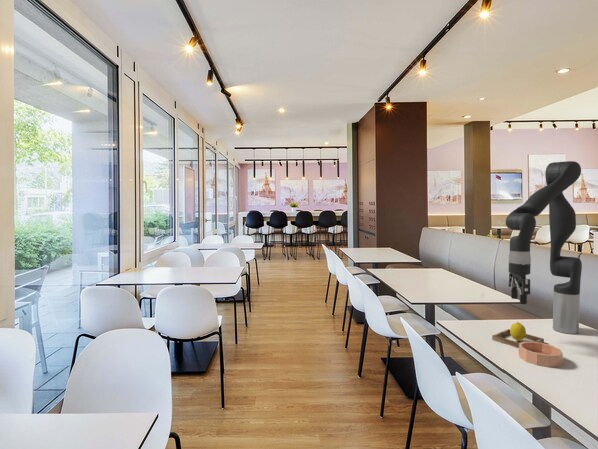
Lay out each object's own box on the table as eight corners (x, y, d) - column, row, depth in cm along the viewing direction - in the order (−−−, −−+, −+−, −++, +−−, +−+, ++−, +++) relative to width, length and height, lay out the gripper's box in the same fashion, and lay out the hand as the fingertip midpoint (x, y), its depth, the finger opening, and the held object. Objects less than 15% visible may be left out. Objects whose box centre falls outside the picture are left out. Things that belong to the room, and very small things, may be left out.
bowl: (528, 349, 133) (528, 339, 133) (567, 361, 122) (567, 350, 122) (512, 357, 126) (512, 346, 126) (552, 370, 115) (552, 358, 115)
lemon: (528, 344, 138) (528, 324, 137) (513, 343, 139) (513, 324, 138) (522, 339, 143) (522, 320, 143) (507, 338, 144) (507, 319, 144)
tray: (508, 333, 150) (508, 329, 150) (543, 343, 139) (543, 338, 139) (492, 339, 143) (492, 335, 143) (528, 350, 131) (528, 346, 131)
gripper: (502, 259, 147) (501, 296, 148) (516, 264, 133) (515, 305, 134) (521, 259, 146) (521, 297, 146) (538, 264, 132) (537, 306, 132)
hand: (518, 301), depth 140 cm, fingers open, 8 cm apart
